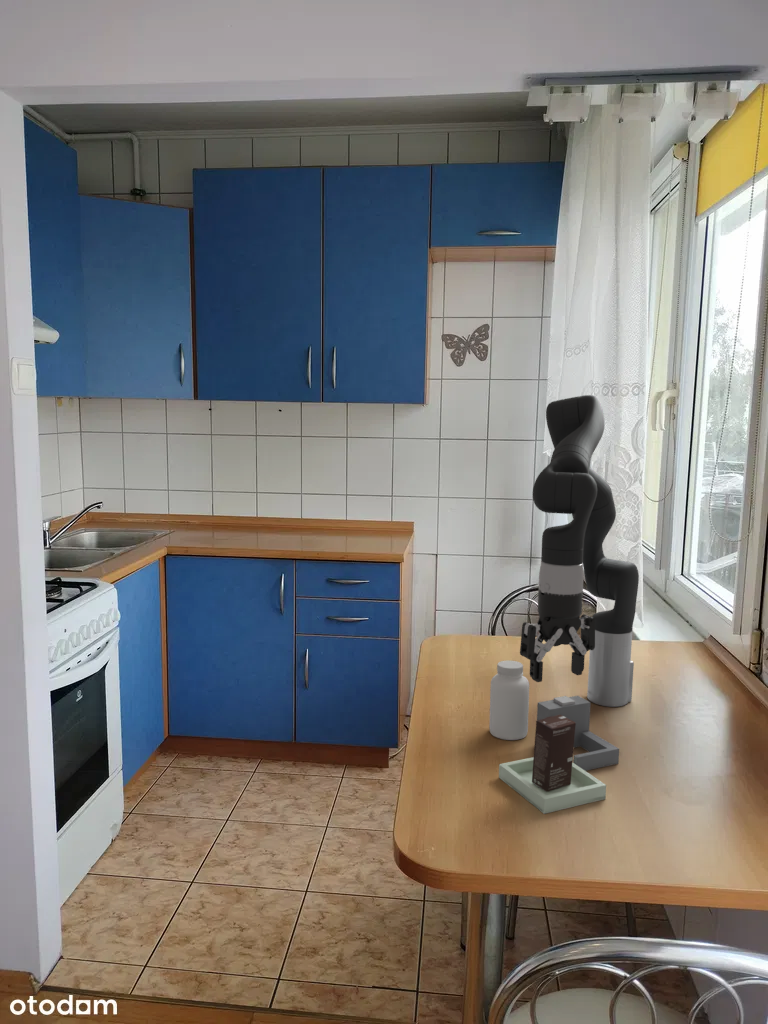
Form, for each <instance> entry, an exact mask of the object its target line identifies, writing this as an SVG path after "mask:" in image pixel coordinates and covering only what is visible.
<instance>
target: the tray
mask: <svg viewBox="0 0 768 1024" xmlns="http://www.w3.org/2000/svg"><path fill="white" fill-rule="evenodd" d="M533 759H534V756H533V757H527V758H524V759H519V760H518V759H517V760H513V761H508V762H503V763H499V765H498V778H499V779H500V780H501V781H503V782H504V783H505V784H506V785H508V786H509V787H510V788H511V789H512V790H514V791H515V792H516V793H517V794H519V796H521V797H522V798H524V799H525V801H528V803H530V804H531V805H532V806H533V807H535V808H536V809H537V810H538V811H540V812H541V813H543V815H545V814H550V813H552V812H553V813H554V812H557V811H562V810H566V809H571V808H573V807H578V806H582V805H587V804H590V803H595V802H598V801H599V802H600V801H602V800H606V795H607V794H606V793H607V784H606V783H604V782H602V781H601V780H600V779H598V778H596V777H595V776H594V775H592V774H591V773H589V772H587V771H585V770H583V769H582V768H580V767H579V766H577V765H576V764H574V763H573V761H572V773H571V784H570V785H566V786H563V787H560V788H557V789H554V790H551V791H548V792H547V791H545V790H543V789H541V788H539V787H538V786H536V785H534V784H533V783H532V772H533Z"/></svg>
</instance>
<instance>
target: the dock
mask: <svg viewBox="0 0 768 1024" xmlns="http://www.w3.org/2000/svg"><path fill="white" fill-rule="evenodd" d="M591 703H592V702H591V701H590V700H588V699H586V698H583V697H582V696H580V695H574V696H573V695H572V696H567V695H564V696H558V697H557V696H556V697H553V699H549V700H544V701H539V702H538V701H537V706H536V707H537V708H536V709H537V710H536V713H537V714H536V721H537V720H540V719H544V718H546V717H550V716H556V715H562V716H564V717H566V718H568V719H570V720H572V721H574V722H575V723H576V725H575V737H574V748H573V749H575V748H579V747H581V748H582V749H584V750H585V751H587V752H584V753H578V754H575V755H574V754H573V760H572V762H573V763H574V764H576V765H577V766H579V767H580V768H582V769H583V770H585V771H586V772H587V771H591V770H595V769H600V768H605V767H608V766H614V765H617V764H618V765H619V760H620V759H619V757H620V748H619V747H618V746H615V744H612V743H610V742H608V740H606V739H603V738H602V737H600V736H599V735H597V734H595V733H593V732H592V731H590V723H591V721H590V719H591Z"/></svg>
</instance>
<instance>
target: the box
mask: <svg viewBox="0 0 768 1024" xmlns="http://www.w3.org/2000/svg"><path fill="white" fill-rule="evenodd" d="M575 725H576V723H575V722H574V721H572V720H570V719H568V718H566V717H564V716H562V715H556V716H550V717H546V718H544V719H540V720H537V719H536V721H535V733H534V735H535V736H534V746H533V747H534V748H533V757H534V759H533V772H532V783H533V784H534V785H536V786H538V787H539V788H541V789H543V790H545V791H547V792H548V791H551V790H554V789H557V788H560V787H563V786H566V785H570V784H571V773H572V762H573V760H574V749H575V748H574V737H575Z"/></svg>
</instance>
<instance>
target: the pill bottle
mask: <svg viewBox="0 0 768 1024" xmlns="http://www.w3.org/2000/svg"><path fill="white" fill-rule="evenodd" d="M496 665H497V667H496V672H497V673H496V674H494V676H493V677H491V680H490V692H489V693H490V694H489V732H490V734H491V735H492V736H493V737H494V738H497V739H499V740H500V739H501V740H503V741H504V740H505V741H506V740H507V741H516V740H522V739H524V738H525V737H526V736H527V735H528V730H529V702H530V682H529V680H528V678H527V677H526V676H524V664H523V663H522V662H519V661H516V660H502V661H498V663H497V664H496Z"/></svg>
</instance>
